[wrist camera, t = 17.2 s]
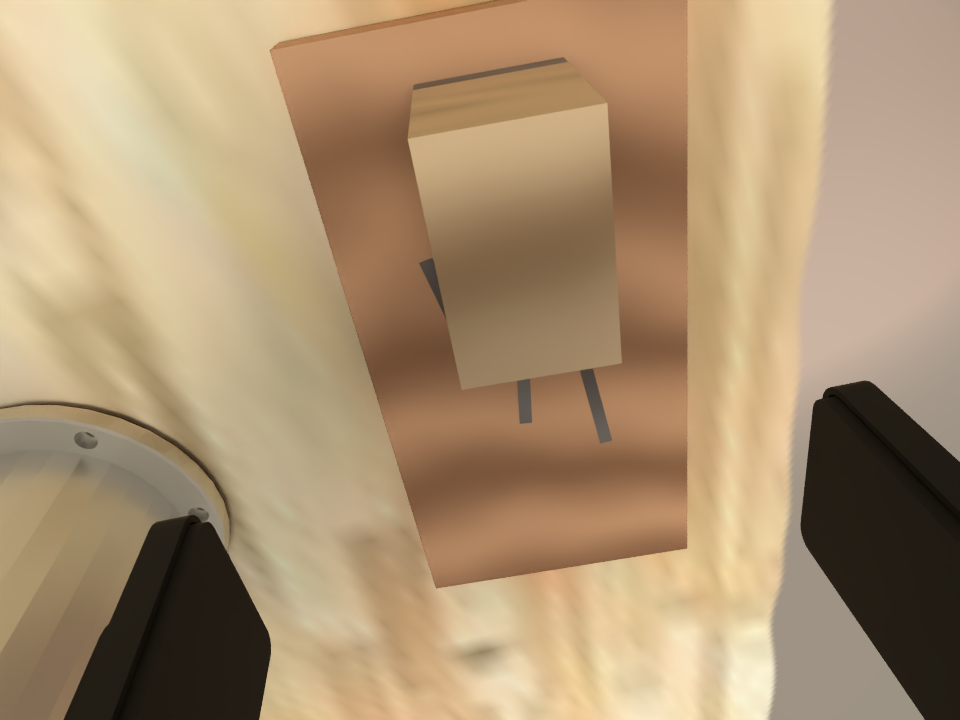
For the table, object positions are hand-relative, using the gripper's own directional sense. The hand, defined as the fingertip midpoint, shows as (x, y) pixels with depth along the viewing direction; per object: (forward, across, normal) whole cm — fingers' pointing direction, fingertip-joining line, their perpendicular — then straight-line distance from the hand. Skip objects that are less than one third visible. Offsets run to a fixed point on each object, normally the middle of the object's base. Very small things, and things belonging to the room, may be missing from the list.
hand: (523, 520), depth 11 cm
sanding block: (+14, -2, -1) cm, 14 cm away
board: (+16, -2, +6) cm, 17 cm away
